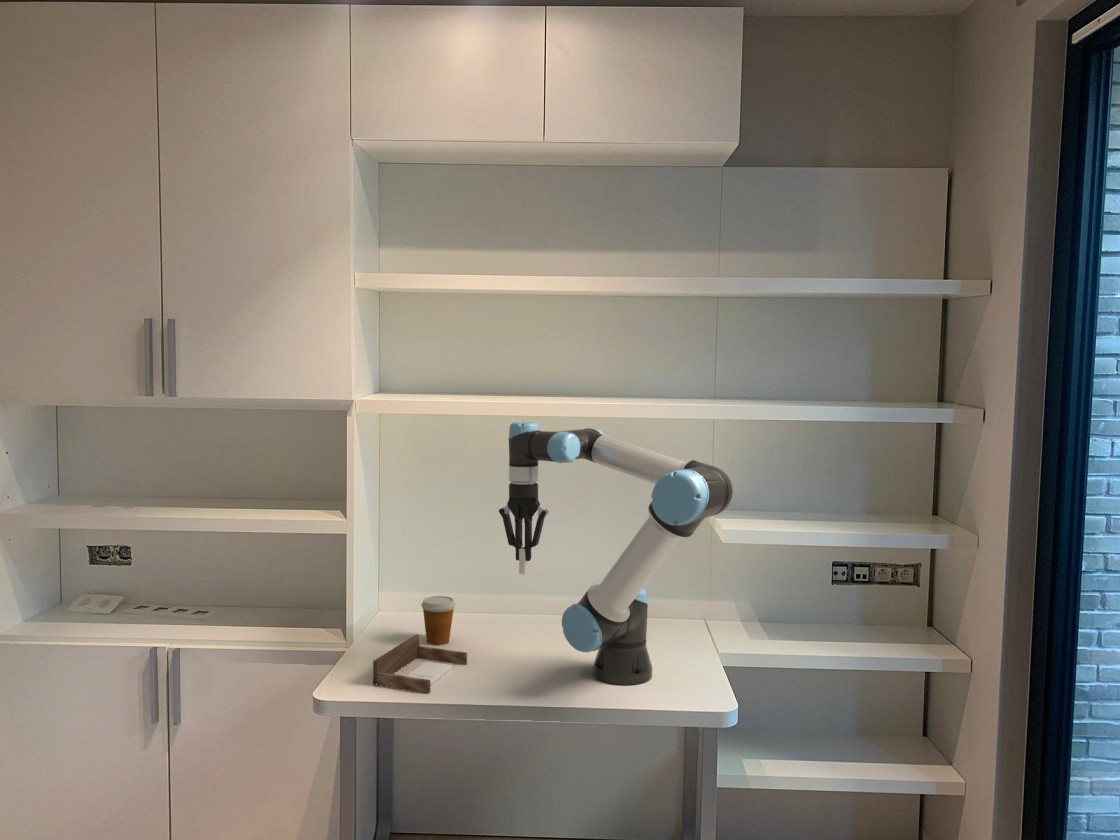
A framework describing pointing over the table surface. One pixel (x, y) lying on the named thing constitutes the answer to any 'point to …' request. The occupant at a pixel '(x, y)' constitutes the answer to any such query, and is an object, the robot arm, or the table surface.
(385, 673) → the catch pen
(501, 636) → the table surface
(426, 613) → the disposable coffee cup
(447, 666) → the external hard drive
